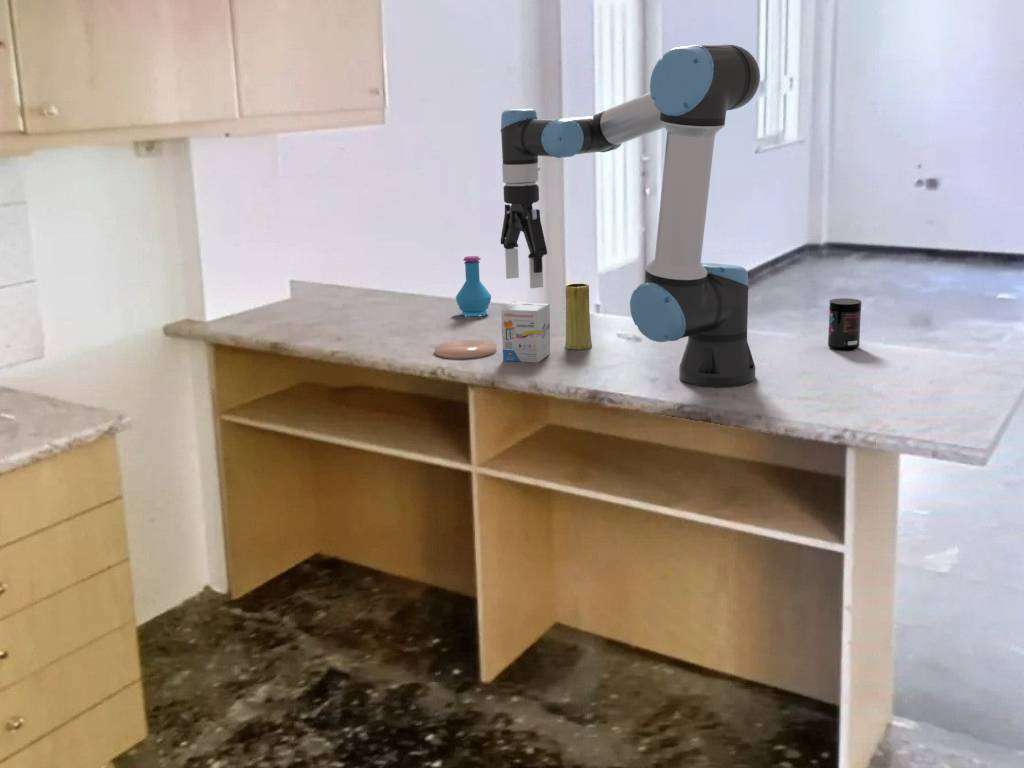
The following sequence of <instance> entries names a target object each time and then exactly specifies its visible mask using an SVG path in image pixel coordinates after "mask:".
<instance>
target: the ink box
mask: <svg viewBox="0 0 1024 768" xmlns="http://www.w3.org/2000/svg"><path fill="white" fill-rule="evenodd" d="M550 306H551V305H550V303H541V302H540V303H539V302H526V301H525V302H524V301H514V302H513V303H512V302H511V303H510V304H508V305H506V306H505V307H504V308H502V309H501V314H500V315H501V337H502V338H501V339H502V340H501V341H502V342H501V343H502V361H505V362H522V363H540V362H542V360H544V359H545V358H547V357H548V356H549V355H550V354H551V325H550V324H551V323H550V322H551V320H550V318H551V312H550V311H551V309H550V308H551V307H550Z"/></svg>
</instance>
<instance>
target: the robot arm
mask: <svg viewBox="0 0 1024 768" xmlns="http://www.w3.org/2000/svg"><path fill="white" fill-rule="evenodd" d="M760 82H761V73H760V67H759V64H758V61H757V60H756V58H755V57H754V56H753V55H752V53H750V52H749V51H748V50H746V48H743V47H741V46H738V45H735V44H710V45H709V44H707V45H706V44H704V45H703V44H688V45H685V46H678V47H674V48H672V49H670V50H668V51H666V52H665V53H664V54H663V55H662V56H661V57H660V58H659V59H658V60H657V62H656V64H655V65H654V67H653V70H652V73H651V76H650V80H649V92H647V93H645V94H642V95H640V96H637V97H635V98H633V99H630V100H627V101H625V102H623V103H621V104H618V105H615V106H614V107H613V106H612V107H611V108H608V109H606V110H604V111H602V112H599V113H596V114H593V115H589V116H576V117H563V118H542V119H541V118H540V119H539V118H538V114H537V111H536V110H535V108H534V109H533V108H518V109H517V108H515V109H514V108H513V109H505V110H503V111H502V112H501V120H500V121H501V122H500V125H501V126H500V134H501V135H500V136H501V154H502V155H501V156H502V157H501V158H502V163H501V164H502V165H501V166H502V168H501V170H502V182H503V183H504V186H503V188H502V189H503V202H504V203H505V204H504V217H503V224H502V230H501V234H500V235H501V236H500V244H501V245H503V248H504V249H505V250H504V253H505V254H504V255H505V277H506V279H510V280H511V279H518V278H519V277H520V273H519V272H520V271H519V251H518V250H519V249H518V248H519V244H518V240H519V238H520V236H521V235H520V234H521V232H522V233H523V236H524V239H525V241H526V244H527V245H526V246H527V247H528V251H529V254H528V256H527V258H528V264H529V266H528V267H529V269H528V270H529V288H530V289H538V288H539V289H540V288H544V274H543V273H544V271H543V269H544V267H543V266H544V265H543V257H544V256H547V254H548V250H547V249H548V248H547V245H546V240H545V236H544V230H543V226H542V221H541V211H540V209H539V208H534V207H533V204H534V203H537V202H539V201H540V186H539V185H538V184H537V182H538V181H539V171H540V170H541V169H540V166H539V157H550V158H557V159H561V158H571V157H574V156H576V155H583V154H591V153H607V152H611V151H614V150H617V149H619V148H620V147H621V146H622V145H623V143H626V142H629V141H632V140H634V139H638V138H640V137H643V136H645V135H648V134H651V133H654V132H656V131H659V130H662V129H665V130H666V140H665V142H666V143H665V151H664V159H663V160H664V163H663V172H662V181H661V182H662V183H661V192H660V201H659V202H660V203H659V210H658V211H659V212H658V213H659V214H658V223H657V231H656V232H657V233H656V234H657V235H656V243H655V254H654V255H655V256H654V259H653V260H652V261H651V262H650V263H648V264H647V265H646V266H645V272H644V283H640V284H639V285H638V286H637V287H636V288H635V289H634V290H633V291H632V294H631V297H630V301H629V309H630V315H631V318H632V320H633V323H634V325H635V326H637V329H638V331H639V333H641V334H642V336H644V337H645V338H647V339H648V340H649V341H653V342H656V343H666V342H676V341H679V340H680V339H683V338H687V343H686V346H685V348H684V352H683V355H682V358H681V361H680V364H679V369H678V373H679V374H678V375H679V376H678V378H679V379H680V381H683V382H685V383H687V384H691V385H695V386H700V387H701V386H702V387H710V388H711V387H712V388H713V387H714V388H715V387H717V388H718V387H719V388H721V387H735V386H744V385H746V384H750V383H752V382H753V381H754V380H755V379H756V365H755V361H754V358H753V355H752V352H751V348H750V346H749V342H748V322H749V321H748V320H749V319H748V318H749V317H748V315H749V314H748V313H749V311H748V310H749V309H748V308H749V289H750V284H749V273H748V270H747V269H746V268H744V267H743V266H739V265H734V264H723V263H712V262H711V263H710V262H702V252H703V246H704V245H703V244H704V235H705V228H706V217H707V210H708V209H707V208H708V201H709V200H708V199H709V190H710V182H711V175H712V174H711V173H712V165H713V155H714V148H715V146H714V145H715V137H716V134H717V133H718V132H720V131H721V130H722V129H723V128H724V127H725V125H726V118H727V117H726V116H727V111H732V110H736V109H739V108H742V107H743V106H745V105H747V104H748V103H749V102H750V101H752V99H754V97H755V95H756V94H757V92H758V89H759V87H760Z"/></svg>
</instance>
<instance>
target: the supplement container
mask: <svg viewBox="0 0 1024 768" xmlns="http://www.w3.org/2000/svg"><path fill="white" fill-rule="evenodd" d="M862 302H863V301H862V300H860V299H856V298H833V299H830V300H829V305H828V306H829V307H828V312H829V315H828V334H827V335H828V336H827V337H828V338H827V345H828V347H829V349H830V350H834V351H839V352H840V351H841V352H850V351H851V352H852V351H856V350H858V348H859V347H860V341H861V340H860V339H861V321H862V320H861V319H862V316H861V315H862Z"/></svg>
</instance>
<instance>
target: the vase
mask: <svg viewBox="0 0 1024 768" xmlns="http://www.w3.org/2000/svg"><path fill="white" fill-rule="evenodd" d="M591 334H592V333H591V316H590V285H589V284H588V283H584V282H581V283H580V282H577V283H576V282H574V283H573V282H572V283H567V284H566V285H565V345H564V347H565V349H567V350H573V351H582V350H588V349H591V348H592V347H593V343H592V335H591Z"/></svg>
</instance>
